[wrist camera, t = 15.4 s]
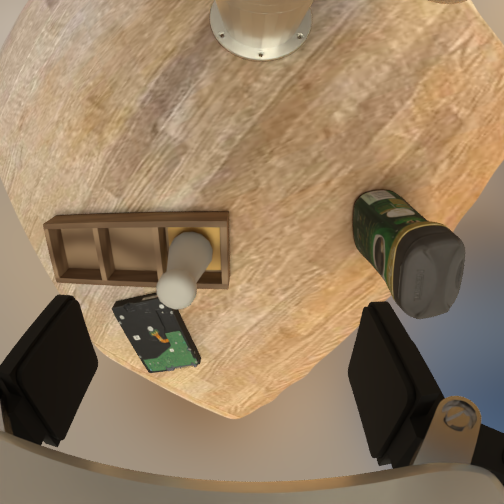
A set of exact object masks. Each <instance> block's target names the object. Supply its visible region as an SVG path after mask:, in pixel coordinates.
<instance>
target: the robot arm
mask: <svg viewBox="0 0 504 504" xmlns="http://www.w3.org/2000/svg"><path fill="white" fill-rule="evenodd" d="M313 1H314V0H214V2H213V4H212V7H211V10H210V25H211V28H212V31H213V34H214V36H215V38H216V39H217V40H218V42H219V43H220V44H221V45H222V46H223V47H224V48H225V49H226V50H227V51H229V52H231V53H232V54H234V55H236V56H238V57H241V58H243V59H247V60H251V61H273V60H276V59H280V58H283V57H285V56H287V55H290V54H291V53H293V52H294V51H295V50H297V49H298V48H299V47H300V46H301V45H302V44H303V43H304V41H305V40H306V39H307V37H308V35H309V32H310V30H311V25H312V13H311V9H310V6H311V4H312V3H313ZM428 1H432V2H436V3H441V4H456V3H461V2H464V1H466V0H428ZM220 35H224V37H222V38H221V37H220ZM298 36H300V37H301V39H298V38H297V37H298ZM259 54H262V55H263V56H262V57H259V56H258V55H259ZM97 367H98V359H97V356H96V353H95V351H94V348H93V345H92V342H91V339H90V336H89V333H88V330H87V327H86V324H85V321H84V318H83V314H82V311H81V308H80V304H79V302H78V301H77V300H75V298H74V297H73V296H70V295H57V296H55V298H54V299H53V300H52V301H51V302H50V303H49V305H48V306H47V307H46V308H45V309H44V310H43V312H42V313H41V314H40V315H39V316H38V318H37V319H36V320H35V321H34V322H33V324H32V325H31V326H30V327H29V329H28V330H27V331H26V332H25V334H24V335H23V336H22V337H21V339H20V340H19V341H18V342H17V344H16V345H15V346H14V348H13V349H12V350H11V352H10V353H9V354H8V355H7V357H6V358H5V360H4V361H3V363H2V364H1V365H0V504H504V433H501V432H499V431H497V430H495V429H492V428H490V427H488V426H485V425H483V424H481V414H480V411H479V409H478V408H477V406H476V405H475V404H474V403H473V402H471V400H469V399H467V398H464V397H461V396H450V397H447V398H444V396H443V394H442V392H441V390H440V388H439V386H438V385H437V383H436V381H435V379H434V377H433V375H432V373H431V372H430V370H429V368H428V366H427V365H426V363H425V361H424V359H423V357H422V356H421V354H420V352H419V351H418V349H417V347H416V345H415V344H414V342H413V341H412V340H411V339H410V337H409V335H408V334H407V332H406V330H405V328H404V327H403V325H402V323H401V322H400V320H399V318H398V317H397V315H396V314H395V312H394V310H393V309H392V307H391V305H390V304H389V303H388V302H386V301H385V302H371V303H369V305H368V307H364V309H363V312H362V316H361V320H360V325H359V329H358V333H357V337H356V341H355V345H354V348H353V352H352V356H351V360H350V364H349V367H348V377H349V381H350V384H351V387H352V390H353V394H354V397H355V401H356V404H357V407H358V411H359V414H360V418H361V421H362V424H363V428H364V432H365V435H366V439H367V443H368V446H369V450H370V453H371V456H372V457H373V458H377V461H378V464H379V466H381V465H386V464H392V468H393V469H388V470H382V471H376V472H370V473H364V474H357V475H350V476H342V477H333V478H323V479H313V480H299V481H276V482H237V481H216V480H202V479H190V478H180V477H172V476H165V475H158V474H152V473H146V472H140V471H134V470H129V469H124V468H119V467H115V466H110V465H106V464H101V463H98V462H93V461H90V460H86V459H82V458H78V457H75V456H72V455H68V454H65V453H62V452H59V451H56V450H53V449H49V448H47V447H44V446H41V444H42V442H43V441H44V442H45V443H46V444H49V445H52V446H55V447H58V445H59V443H60V441H61V440H63V439H65V437H66V434H67V432H68V430H69V428H70V425H71V423H72V421H73V419H74V416H75V414H76V412H77V409H78V408H79V405H80V403H81V401H82V399H83V397H84V395H85V393H86V391H87V388H88V386H89V384H90V382H91V380H92V378H93V376H94V374H95V372H96V370H97Z"/></svg>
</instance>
